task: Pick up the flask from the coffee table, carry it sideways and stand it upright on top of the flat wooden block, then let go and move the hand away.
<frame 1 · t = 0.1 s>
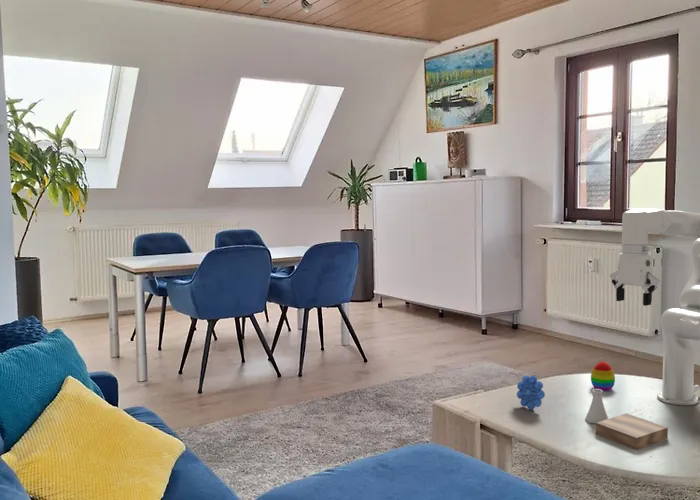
hand: (633, 302, 208), 37 cm above the table, tool pointing down, fingers open, 9 cm apart
decorative egg: (602, 389, 238), on the table
grapes: (532, 409, 219), on the table
flask: (597, 421, 207), on the table
flat wooden block: (631, 438, 194), on the table
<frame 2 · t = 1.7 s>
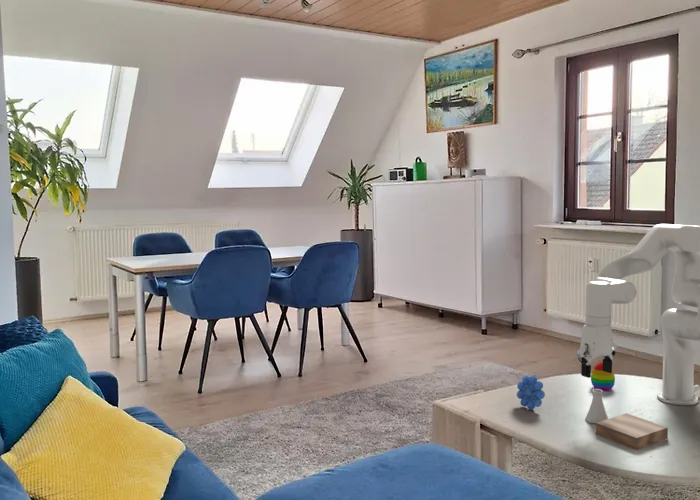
hand: (596, 374, 205), 15 cm above the table, tool pointing down, fingers open, 9 cm apart
nothing on the table moved.
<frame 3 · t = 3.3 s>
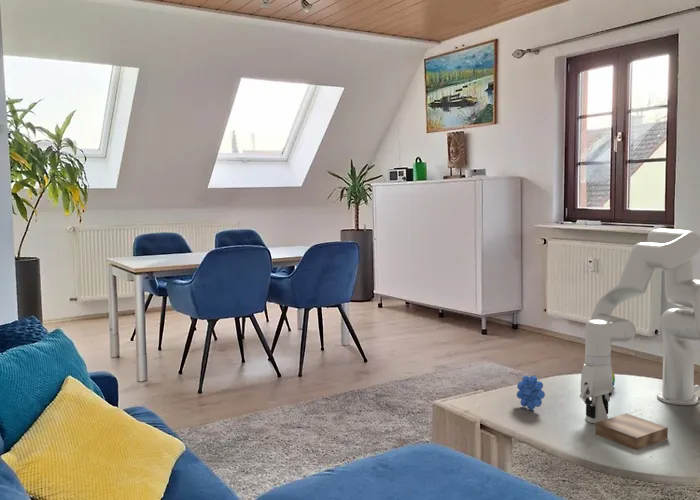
hand: (597, 414, 207), 2 cm above the table, tool pointing down, fingers closed on flask, 5 cm apart
flask: (597, 421, 207), on the table, touching gripper
everything else where it was.
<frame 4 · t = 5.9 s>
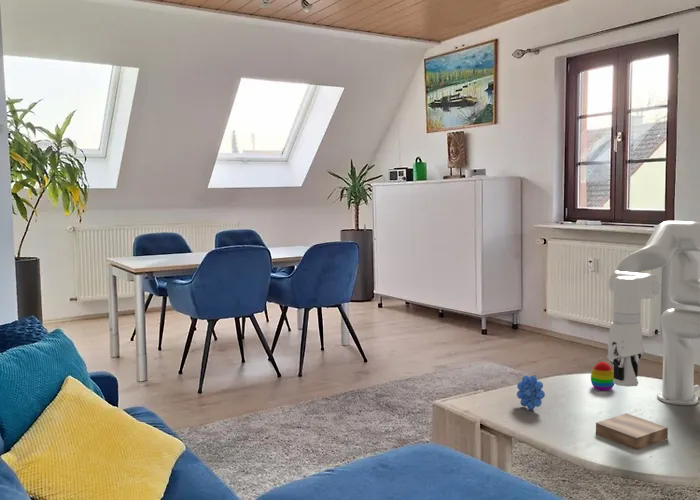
hand: (625, 377, 194), 17 cm above the table, tool pointing down, fingers closed on flask, 5 cm apart
flask: (625, 384, 195), point 15 cm above the table, touching gripper
everything else where it was.
when the fingers open (7 cm above the table, at t = 8.4 s): flask drops 2 cm, resting on flat wooden block.
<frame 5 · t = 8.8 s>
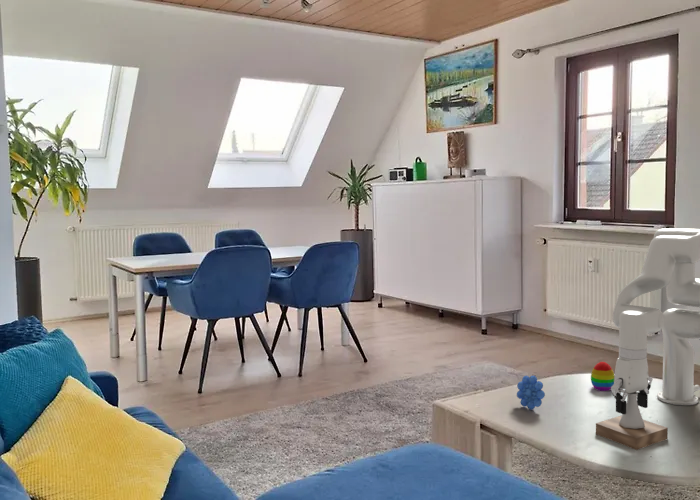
hand: (631, 409, 193), 8 cm above the table, tool pointing down, fingers open, 9 cm apart
flask: (631, 425, 194), point 3 cm above the table, touching flat wooden block
flat wooden block: (631, 438, 194), on the table, touching flask
everything else where it was.
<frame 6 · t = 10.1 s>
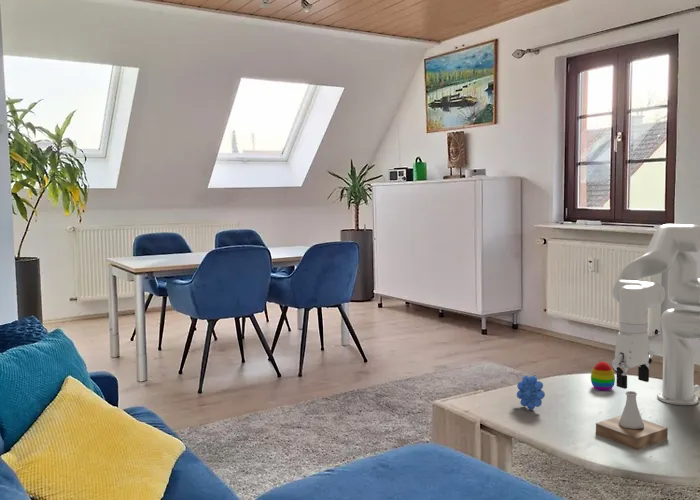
hand: (632, 384, 193), 16 cm above the table, tool pointing down, fingers open, 9 cm apart
flask: (631, 425, 194), point 3 cm above the table
flat wooden block: (631, 438, 194), on the table
everything else where it was.
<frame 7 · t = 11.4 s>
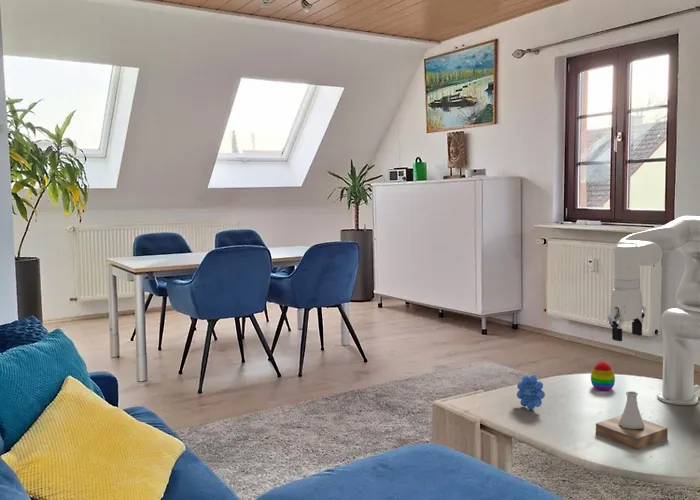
hand: (627, 337, 205), 27 cm above the table, tool pointing down, fingers open, 9 cm apart
nothing on the table moved.
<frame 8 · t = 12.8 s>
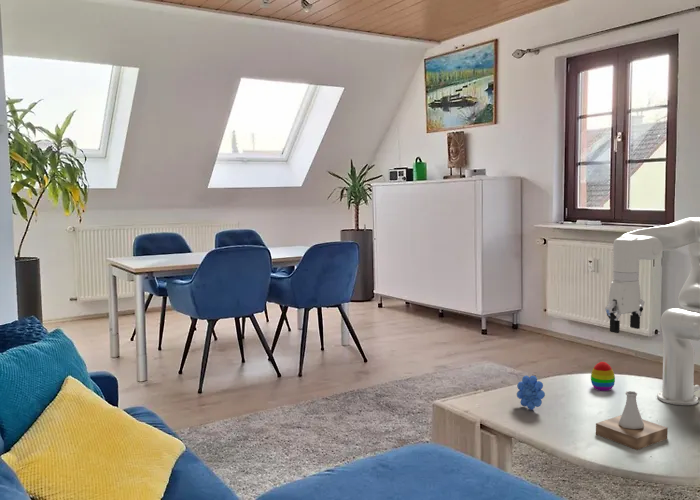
hand: (624, 330, 207), 28 cm above the table, tool pointing down, fingers open, 9 cm apart
flask: (631, 426, 194), point 3 cm above the table, touching flat wooden block
flat wooden block: (631, 438, 194), on the table, touching flask
everything else where it was.
at the end: flask inside the target area on the flat wooden block (0.1 cm from its centre), point 3.8 cm above the flat wooden block's base; flask tilted 0°; the gripper is holding nothing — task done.
